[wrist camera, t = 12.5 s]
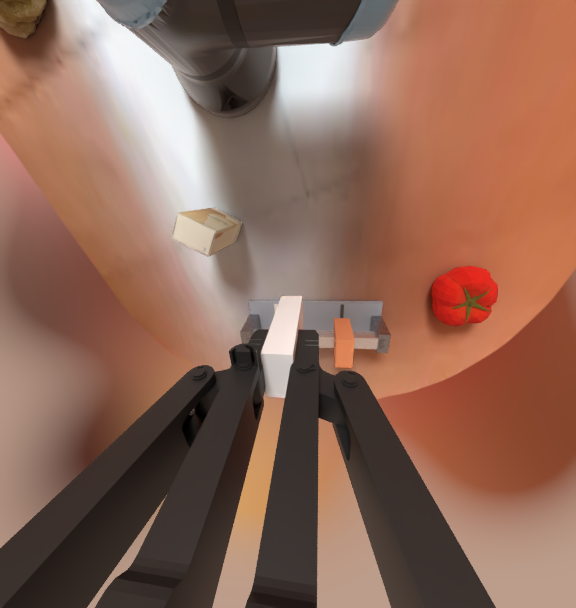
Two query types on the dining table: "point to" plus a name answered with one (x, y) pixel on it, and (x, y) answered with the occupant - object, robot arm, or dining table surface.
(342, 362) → the collar
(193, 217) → the skincare box
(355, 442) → the robot arm
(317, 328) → the board
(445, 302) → the tomato
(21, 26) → the pastry
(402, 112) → the dining table surface
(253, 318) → the rail
